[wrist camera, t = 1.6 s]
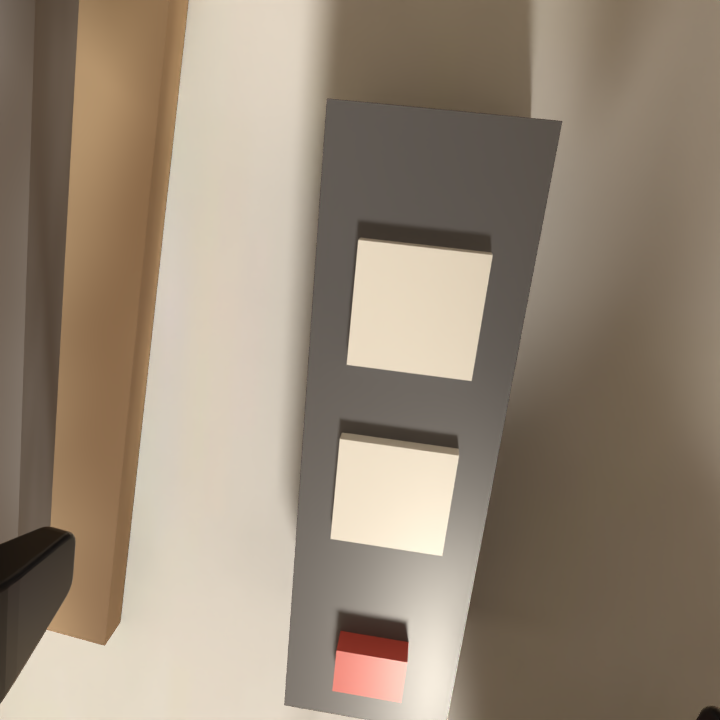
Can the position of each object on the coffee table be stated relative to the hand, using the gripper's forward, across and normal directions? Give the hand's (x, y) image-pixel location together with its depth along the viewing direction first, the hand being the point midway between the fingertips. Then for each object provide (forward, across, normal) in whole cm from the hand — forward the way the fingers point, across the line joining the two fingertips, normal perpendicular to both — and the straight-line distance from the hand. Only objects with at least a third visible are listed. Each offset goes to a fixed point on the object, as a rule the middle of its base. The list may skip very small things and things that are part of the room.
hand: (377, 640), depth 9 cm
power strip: (+9, 0, 0) cm, 9 cm away
